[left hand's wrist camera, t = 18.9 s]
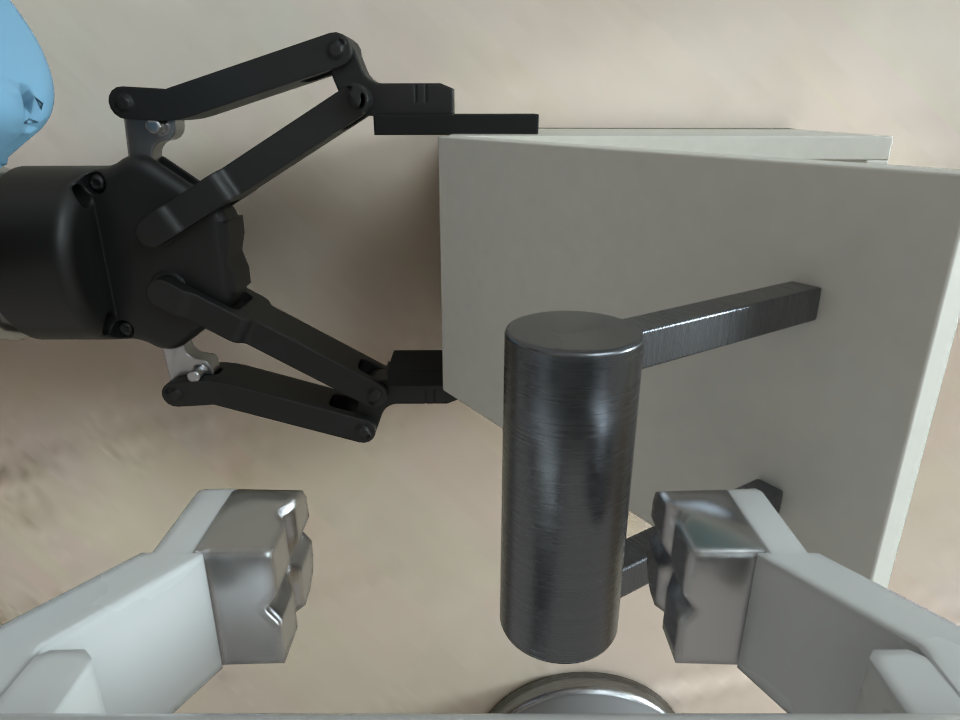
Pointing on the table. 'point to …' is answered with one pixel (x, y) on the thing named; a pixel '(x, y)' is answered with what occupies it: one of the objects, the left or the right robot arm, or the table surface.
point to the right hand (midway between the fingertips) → (532, 253)
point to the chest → (725, 141)
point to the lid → (689, 352)
